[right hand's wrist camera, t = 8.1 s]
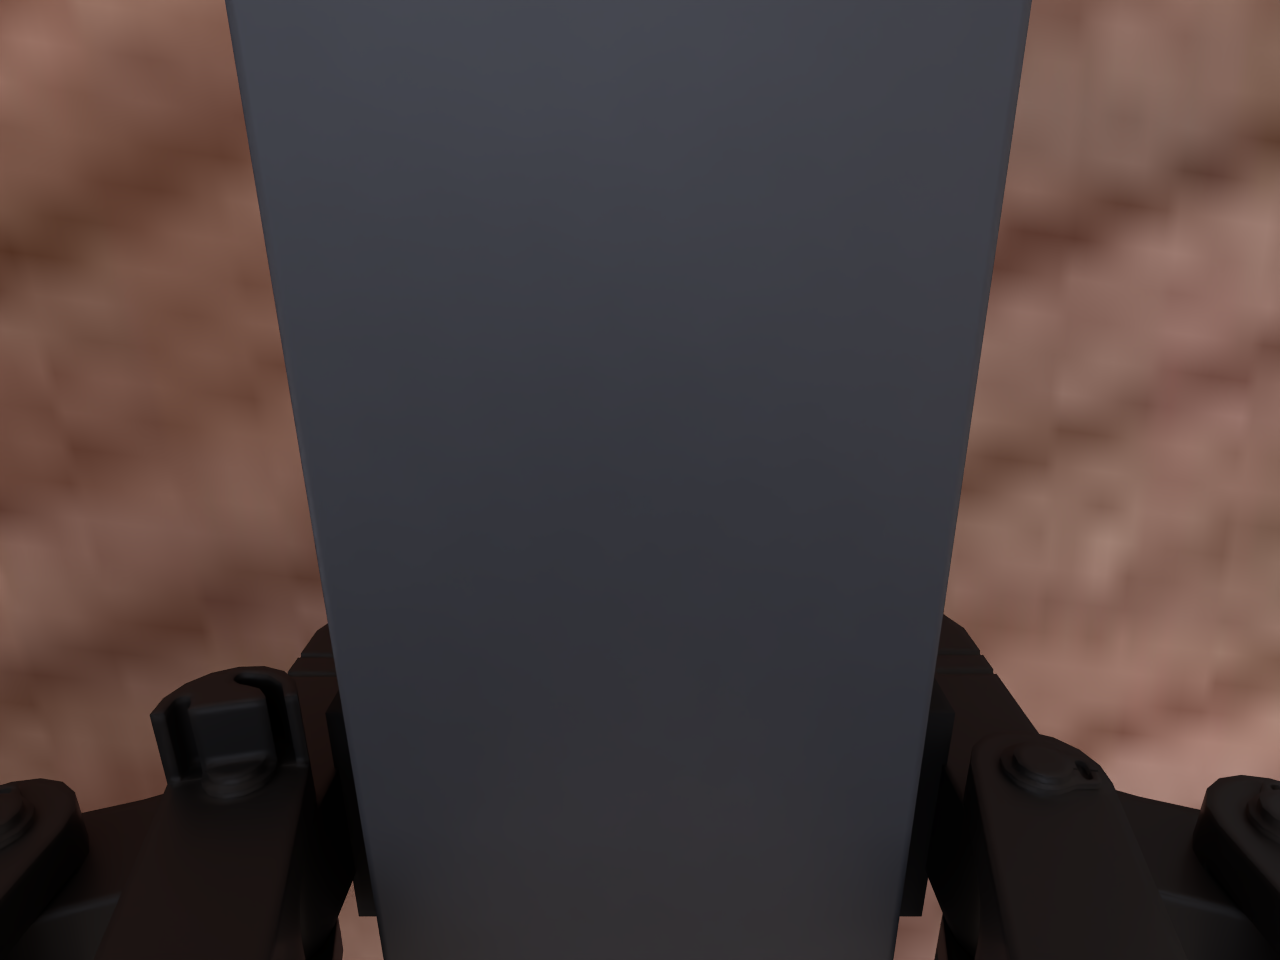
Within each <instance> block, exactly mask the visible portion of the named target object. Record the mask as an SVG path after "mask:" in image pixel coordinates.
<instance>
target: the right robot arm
mask: <svg viewBox="0 0 1280 960" xmlns="http://www.w3.org/2000/svg"><path fill="white" fill-rule="evenodd" d="M150 718H151V722H152V726H153V730H154V733H155V737H156V741H157V745H158V749H159V753H160V757H161V760H162V764H163V768H164V772H165V776H166V780H167V784H168V785H167V787H166V789H165V792H164V794H162V795H158V796H155V797H151V798H148V799H144V800H140V801H135V802H131V803H126V804H121V805H117V806H112V807H108V808H103V809H99V810H94V811H89V812H85V813H81V811H80V807H79V804H78V801H77V798H76V794H75V792H74V791H73V790H72V789H70V788H69V787H68V786H67V785H66V784H65V783H63V782H60V781H54V780H48V779H41V778H40V779H32V780H24V781H15V782H10V783H7V784H3V785H0V960H342V956H343V946H342V938H341V931H340V926H339V920H338V915H339V913H340V910H341V908H342V906H343V903H344V901H345V898H346V896H347V893H348V891H349V888H350V886H351V883H352V881H353V883H354V889H355V895H356V901H357V907H358V913H359V916H376V910H375V904H374V898H373V892H372V885H371V879H370V873H369V867H368V861H367V855H366V849H365V843H364V837H363V831H362V825H361V819H360V813H359V807H358V801H357V795H356V789H355V783H354V777H353V771H352V765H351V759H350V753H349V747H348V740H347V734H346V728H345V722H344V716H343V710H342V704H341V698H340V692H339V686H338V680H337V674H336V668H335V662H334V656H333V650H332V644H331V638H330V632H329V626H328V624H326V625H325V626H323V627H322V628H320V629H319V630H318V631H316V633H315V634H314V636H313V637H312V639H311V640H310V641H309V643H308V644H307V646H306V647H305V649H304V650H303V651H302V653H301V658H297V660H296V661H295V663H294V664H293V666H292V667H291V668H290V670H289V671H288V674H287V673H286V672H285V671H282V670H278V669H274V668H269V667H265V666H254V667H236V668H232V669H227V670H223V671H218V672H214V673H210V674H208V675H205V676H203V677H201V678H198V679H196V680H193V681H191V682H188V683H186V684H184V685H183V686H181V687H180V688H178V689H177V690H175V691H174V692H172V693H171V694H169V695H168V696H166V697H165V698H163V699H162V701H161V702H160V703H159V704H158V705H157V707H156V708H155V709H154V710H153V711H152V713H151V714H150ZM928 878H929V880H930V883H931V885H932V888H933V890H934V893H935V895H936V898H937V900H938V902H939V905H940V907H941V910H942V912H943V915H942V920H941V926H940V931H939V937H938V943H937V948H936V954H935V959H934V960H1280V781H1277V780H1273V779H1270V778H1262V777H1254V776H1246V775H1238V776H1231V777H1225V778H1219V779H1218V780H1217V781H1216V782H1214V783H1213V784H1212V785H1211V786H1210V787H1208V788H1207V790H1206V794H1205V797H1204V800H1203V803H1202V806H1201V810H1198V809H1193V808H1189V807H1184V806H1180V805H1175V804H1170V803H1166V802H1161V801H1157V800H1152V799H1147V798H1143V797H1138V796H1135V795H1131V794H1128V793H1124V792H1121V791H1117V790H1115V788H1114V785H1113V783H1112V782H1111V780H1110V779H1109V778H1108V776H1107V775H1106V773H1105V772H1104V771H1103V769H1102V768H1101V766H1100V765H1099V764H1097V763H1096V762H1095V761H1093V760H1092V759H1091V758H1090V757H1088V756H1087V755H1086V754H1084V753H1083V752H1082V751H1080V750H1079V749H1077V748H1075V747H1073V746H1070V745H1068V744H1066V743H1064V742H1062V741H1060V740H1058V739H1056V738H1053V737H1049V736H1045V735H1041V734H1039V733H1038V732H1037V730H1036V729H1035V727H1034V726H1033V725H1032V723H1031V722H1030V720H1029V719H1028V718H1027V716H1026V715H1025V713H1024V712H1023V711H1022V709H1021V708H1020V706H1019V705H1018V704H1017V702H1016V701H1015V699H1014V698H1013V697H1012V695H1011V694H1010V692H1009V691H1008V689H1007V688H1006V687H1005V685H1004V684H1003V682H1002V681H1001V680H1000V678H999V677H998V675H997V674H993V668H992V667H991V666H990V664H989V663H988V661H987V660H986V658H985V657H984V656H983V655H980V650H979V649H978V647H977V646H976V644H975V643H974V642H973V640H972V639H971V637H970V636H969V635H968V633H967V632H966V630H965V629H964V628H963V627H961V626H960V625H958V624H957V623H956V622H954V621H953V620H951V619H950V618H948V617H947V616H945V615H944V614H943V619H942V625H941V632H940V639H939V646H938V653H937V660H936V667H935V674H934V681H933V688H932V695H931V702H930V709H929V715H928V722H927V729H926V736H925V743H924V750H923V757H922V764H921V771H920V778H919V785H918V792H917V798H916V805H915V812H914V819H913V826H912V833H911V840H910V847H909V854H908V861H907V868H906V875H905V882H904V888H903V895H902V902H901V909H900V916H922V911H923V905H924V899H925V893H926V887H927V881H928Z"/></svg>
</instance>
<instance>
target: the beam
mask: <svg viewBox="0 0 1280 960" xmlns="http://www.w3.org/2000/svg"><path fill="white" fill-rule="evenodd" d="M1031 2H1032V0H225V3H226V9H227V15H228V22H229V28H230V34H231V40H232V46H233V52H234V58H235V64H236V70H237V76H238V82H239V88H240V94H241V100H242V106H243V112H244V118H245V124H246V130H247V136H248V142H249V148H250V154H251V160H252V167H253V173H254V179H255V185H256V191H257V197H258V203H259V209H260V215H261V221H262V227H263V233H264V239H265V245H266V251H267V257H268V263H269V269H270V275H271V281H272V287H273V293H274V299H275V305H276V312H277V318H278V324H279V330H280V336H281V342H282V348H283V354H284V360H285V366H286V372H287V378H288V384H289V390H290V396H291V402H292V408H293V414H294V420H295V426H296V432H297V438H298V444H299V450H300V457H301V463H302V469H303V475H304V481H305V487H306V493H307V499H308V505H309V511H310V517H311V523H312V529H313V535H314V541H315V547H316V553H317V559H318V565H319V571H320V577H321V583H322V589H323V595H324V602H325V608H326V614H327V620H328V626H329V632H330V638H331V644H332V650H333V656H334V662H335V668H336V674H337V680H338V686H339V692H340V698H341V704H342V710H343V716H344V722H345V728H346V734H347V740H348V747H349V753H350V759H351V765H352V771H353V777H354V783H355V789H356V795H357V801H358V807H359V813H360V819H361V825H362V831H363V837H364V843H365V849H366V855H367V861H368V867H369V873H370V879H371V885H372V892H373V898H374V904H375V910H376V916H377V922H378V928H379V934H380V940H381V946H382V952H383V958H384V960H893V958H894V951H895V944H896V937H897V930H898V923H899V916H900V909H901V902H902V895H903V888H904V882H905V875H906V868H907V861H908V854H909V847H910V840H911V833H912V826H913V819H914V812H915V805H916V798H917V792H918V785H919V778H920V771H921V764H922V757H923V750H924V743H925V736H926V729H927V722H928V715H929V709H930V702H931V695H932V688H933V681H934V674H935V667H936V660H937V653H938V646H939V639H940V632H941V625H942V619H943V612H944V605H945V598H946V591H947V584H948V577H949V570H950V563H951V556H952V549H953V542H954V535H955V529H956V522H957V515H958V508H959V501H960V494H961V487H962V480H963V473H964V466H965V459H966V452H967V445H968V439H969V432H970V425H971V418H972V411H973V404H974V397H975V390H976V383H977V376H978V369H979V362H980V355H981V349H982V342H983V335H984V328H985V321H986V314H987V307H988V300H989V293H990V286H991V279H992V272H993V265H994V259H995V252H996V245H997V238H998V231H999V224H1000V217H1001V210H1002V203H1003V196H1004V189H1005V182H1006V175H1007V169H1008V162H1009V155H1010V148H1011V141H1012V134H1013V127H1014V120H1015V113H1016V106H1017V99H1018V92H1019V85H1020V79H1021V72H1022V65H1023V58H1024V51H1025V44H1026V37H1027V30H1028V23H1029V16H1030V9H1031Z"/></svg>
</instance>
